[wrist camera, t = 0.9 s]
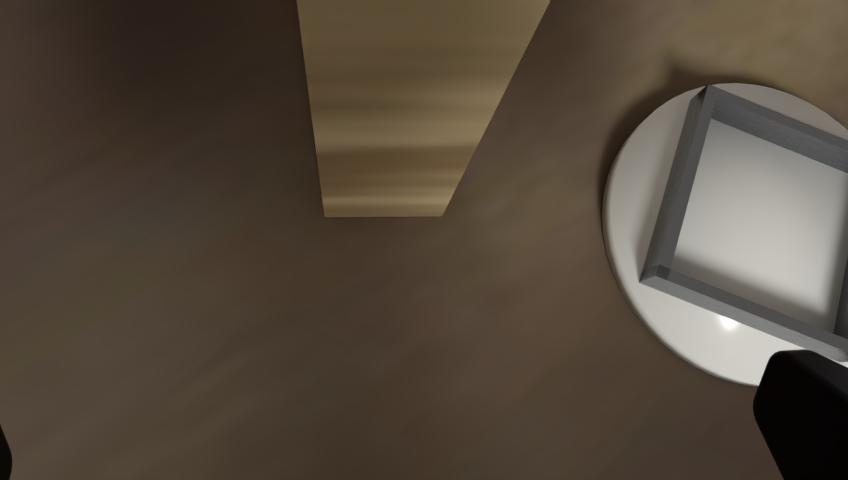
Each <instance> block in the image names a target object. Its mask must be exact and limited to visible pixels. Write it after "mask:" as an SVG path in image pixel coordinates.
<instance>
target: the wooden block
mask: <svg viewBox="0 0 848 480" xmlns="http://www.w3.org/2000/svg"><path fill="white" fill-rule="evenodd" d="M550 1H551V0H297V8H298V16H299V24H300V31H301V39H302V47H303V55H304V62H305V70H306V78H307V86H308V93H309V101H310V109H311V117H312V124H313V132H314V140H315V148H316V155H317V163H318V171H319V178H320V186H321V194H322V202H323V209H324V217H409V216H442V215H443V213H444V211H445V209H446V207H447V205H448V203H449V201H450V199H451V197H452V195H453V193H454V191H455V189H456V187H457V186H458V184H459V182H460V180H461V178H462V176H463V174H464V172H465V170H466V168H467V166H468V164H469V162H470V160H471V158H472V156H473V154H474V152H475V150H476V148H477V146H478V144H479V142H480V140H481V138H482V136H483V134H484V132H485V130H486V128H487V126H488V124H489V122H490V120H491V118H492V116H493V114H494V112H495V110H496V108H497V106H498V104H499V102H500V100H501V98H502V96H503V94H504V92H505V90H506V88H507V86H508V84H509V82H510V80H511V78H512V76H513V74H514V72H515V70H516V68H517V66H518V64H519V62H520V60H521V58H522V56H523V54H524V52H525V50H526V48H527V46H528V44H529V42H530V40H531V38H532V36H533V34H534V32H535V30H536V28H537V26H538V24H539V22H540V20H541V18H542V16H543V14H544V12H545V10H546V8H547V6H548V4H549V2H550Z"/></svg>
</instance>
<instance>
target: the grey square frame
mask: <svg viewBox="0 0 848 480" xmlns="http://www.w3.org/2000/svg"><path fill="white" fill-rule="evenodd" d="M711 119H714V120H716V121H719V122H721V123H724V124H726V125H729V126H731V127H734V128H736V129H739V130H741V131H743V132H746V133H748V134H751V135H753V136H756V137H758V138H761V139H763V140H766V141H768V142H771V143H773V144H776V145H778V146H781V147H783V148H786V149H788V150H791V151H793V152H796V153H798V154H801V155H803V156H806V157H808V158H811V159H813V160H815V161H818V162H820V163H823V164H825V165H828V166H830V167H833V168H835V169H838V170H840V171H843V172H845V173H848V140H846V139H843V138H841V137H838V136H836V135H834V134H831V133H829V132H826V131H824V130H821V129H819V128H816V127H814V126H811V125H809V124H806V123H804V122H801V121H799V120H796V119H794V118H791V117H789V116H786V115H784V114H782V113H779V112H777V111H774V110H772V109H769V108H767V107H764V106H762V105H759V104H757V103H754V102H752V101H749V100H747V99H744V98H742V97H739V96H737V95H734V94H732V93H729V92H727V91H725V90H722V89H720V88H717V87H715V86H712V85H710V84H708V85H707V86H705V87H704V88H703V89H702V90H701V91H700V92H699V93H698V94H696V95H695V96H694V97H693V98H692V99H691V100H690V103H689V106H688V110H687V114H686V117H685V121H684V124H683V128H682V131H681V135H680V138H679V142H678V145H677V149H676V153H675V156H674V160H673V163H672V167H671V170H670V174H669V177H668V181H667V184H666V188H665V192H664V195H663V199H662V202H661V206H660V209H659V213H658V216H657V220H656V223H655V227H654V231H653V234H652V238H651V241H650V245H649V248H648V252H647V255H646V259H645V262H644V266H643V269H642V273H641V277H640V280H639V283H641V284H643V285H646V286H648V287H651V288H654V289H656V290H659V291H661V292H664V293H666V294H669V295H671V296H674V297H676V298H679V299H681V300H684V301H686V302H689V303H691V304H694V305H696V306H699V307H701V308H704V309H706V310H709V311H711V312H714V313H716V314H719V315H721V316H724V317H727V318H729V319H732V320H734V321H737V322H739V323H742V324H744V325H747V326H749V327H752V328H754V329H757V330H759V331H762V332H764V333H767V334H769V335H772V336H774V337H777V338H779V339H782V340H784V341H787V342H789V343H792V344H794V345H797V346H800V347H802V348H805V349H807V350H811V351H814V352H816V353H818V354H820V355H822V356H825V357H827V358H830V359H832V360H835V361H837V362H848V257H847V262H846V268H845V273H844V278H843V284H842V289H841V295H840V300H839V305H838V311H837V316H836V321H835V327H834V332H833V333H830V332H828V331H825V330H823V329H820V328H818V327H815V326H813V325H810V324H808V323H805V322H803V321H800V320H798V319H795V318H793V317H790V316H788V315H785V314H782V313H780V312H777V311H775V310H772V309H770V308H767V307H765V306H762V305H760V304H757V303H755V302H752V301H750V300H747V299H745V298H742V297H740V296H737V295H735V294H732V293H730V292H727V291H725V290H722V289H720V288H717V287H715V286H712V285H710V284H707V283H705V282H702V281H700V280H697V279H695V278H692V277H690V276H687V275H685V274H682V273H679V272H677V271H674V270H672V269H670V268H671V265H672V261H673V257H674V253H675V250H676V246H677V242H678V239H679V235H680V231H681V227H682V224H683V220H684V216H685V213H686V209H687V205H688V201H689V198H690V194H691V190H692V187H693V183H694V179H695V175H696V172H697V168H698V164H699V161H700V157H701V153H702V149H703V146H704V142H705V138H706V135H707V131H708V127H709V123H710V120H711Z"/></svg>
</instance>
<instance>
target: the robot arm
mask: <svg viewBox="0 0 848 480" xmlns="http://www.w3.org/2000/svg"><path fill="white" fill-rule="evenodd" d="M753 412H754V416H755V420H756V422H757V424H758V427H759V429H760V431H761V433H762V435H763V437H764V439H765V441H766V443H767V445H768V448H769V450H770V452H771V454H772V456H773V458H774V460H775V462H776V464H777V466H778V468H779V471H780V473H781V475H782V477H783V479H784V480H848V367H845V366H843V365H841V364H839V363H837V362H835V361H833V360H831V359H829V358H827V357H825V356H822V355H820V354H818V353H816V352H814V351H811V350H806V349H799V350H782V351H778V352H775V353H774V354H773V355H772V356H771V357H770V358H769V360H768V362H767V365H766V368H765V370H764V373H763V376H762V378H761V381H760V384H759V386H758V389H757V392H756V394H755V397H754V400H753ZM11 470H12V455H11V451H10V448H9V445H8V443H7V440H6V438H5V435H4V433H3V430H2V428H1V425H0V480H9V479H10V475H11Z"/></svg>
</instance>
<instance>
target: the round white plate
mask: <svg viewBox="0 0 848 480" xmlns="http://www.w3.org/2000/svg"><path fill="white" fill-rule="evenodd" d="M712 86H715V87H717V88H720V89H722V90H725V91H727V92H729V93H732V94H734V95H737V96H739V97H742V98H744V99H747V100H749V101H752V102H754V103H757V104H759V105H762V106H764V107H767V108H769V109H772V110H774V111H777V112H779V113H782V114H784V115H786V116H789V117H791V118H794V119H796V120H799V121H801V122H804V123H806V124H809V125H811V126H814V127H816V128H819V129H821V130H824V131H826V132H829V133H831V134H834V135H836V136H838V137H841V138H843V139H846V140H848V131H847V130H846V129H845V128H844V127H843V126H842V125H841V124H840V123H838V122H837V121H836V120H834V119H833V118H832V117H830V116H829V115H828V114H827V113H825V112H823V111H822V110H820V109H818V108H817V107H815V106H814V105H812V104H810V103H808V102H806V101H804V100H802V99H800V98H798V97H796V96H794V95H791V94H788V93H785V92H782V91H779V90H776V89H773V88H769V87H764V86H759V85H753V84H742V83H727V84H715V85H712ZM704 87H705V86H704ZM704 87H700V88H697V89H694V90H690V91H687V92H685V93H683V94H681V95H679V96H676V97H674V98H672V99H670V100H669V101H667V102H666V103H664V104H663V105H661V106H660V107H659V108H657V109H656V110H655V111H654V112H653V113H651V114H650V115H649V116H648V117H647V118H646V119H645V120H644V121H643V122H642V123H641V124H640V125H639V126H638V127H637V128H636V129H634V130H633V132H632V133H631V134H630V136H629V137H628V138H627V139H626V141H625V142H624V143H623V145H622V146H621V148H620V150H619V152H618V153H617V155H616V157H615V159H614V161H613V163H612V166H611V169H610V171H609V174H608V177H607V181H606V185H605V189H604V194H603V205H602V230H603V237H604V243H605V249H606V253H607V257H608V260H609V263H610V267H611V270H612V273H613V275H614V277H615V280H616V282H617V284H618V286H619V289H620V291H621V293H622V294H623V296H624V298H625V299H626V301H627V303H628V304H629V306H630V308H631V309H632V311H633V312H634V313H635V315H636V316H637V317H638V319H639V320H640V321H641V323H642V324H643V325H644V327H645V328H646V329H647V330H648V331H649V332H650V333H651V334H652V335H653V336H654V337H655V338H656V339H657V340H658V341H659V342H660V343H661V344H663V345H664V346H665V347H666V348H667V349H669V350H670V351H671V352H672V353H674V354H675V355H676V356H677V357H679V358H681V359H682V360H684V361H685V362H687V363H689V364H690V365H692V366H693V367H695V368H697V369H699V370H701V371H703V372H706V373H708V374H710V375H712V376H714V377H717V378H720V379H724V380H727V381H730V382H733V383H738V384H743V385H749V386H759V384H760V381H761V378H762V376H763V373H764V370H765V368H766V365H767V362H768V360H769V358H770V357H771V356H772V355H773V354H774V353H775V352H778V351H782V350H799V349H805V348H802V347H800V346H797V345H794V344H792V343H789V342H787V341H784V340H782V339H779V338H777V337H774V336H772V335H769V334H767V333H764V332H762V331H759V330H757V329H754V328H752V327H749V326H747V325H744V324H742V323H739V322H737V321H734V320H732V319H729V318H727V317H724V316H721V315H719V314H716V313H714V312H711V311H709V310H706V309H704V308H701V307H699V306H696V305H694V304H691V303H689V302H686V301H684V300H681V299H679V298H676V297H674V296H671V295H669V294H666V293H664V292H661V291H659V290H656V289H654V288H651V287H648V286H646V285H643V284H641V283H639V280H640V277H641V273H642V269H643V266H644V262H645V259H646V255H647V252H648V248H649V245H650V241H651V238H652V234H653V231H654V227H655V223H656V220H657V216H658V213H659V209H660V206H661V202H662V199H663V195H664V192H665V188H666V184H667V181H668V177H669V174H670V170H671V167H672V163H673V160H674V156H675V153H676V149H677V145H678V142H679V138H680V135H681V131H682V128H683V124H684V121H685V117H686V114H687V110H688V106H689V103H690V100H691V99H692V98H693V97H694V96H695V95H696V94H698V93H699V92H700V91H701V90H702V89H703V88H704ZM847 257H848V173H845V172H843V171H840V170H838V169H835V168H833V167H830V166H828V165H825V164H823V163H820V162H818V161H815V160H813V159H811V158H808V157H806V156H803V155H801V154H798V153H796V152H793V151H791V150H788V149H786V148H783V147H781V146H778V145H776V144H773V143H771V142H768V141H766V140H763V139H761V138H758V137H756V136H753V135H751V134H748V133H746V132H743V131H741V130H739V129H736V128H734V127H731V126H729V125H726V124H724V123H721V122H719V121H716V120H714V119H711V120H710V123H709V127H708V131H707V135H706V138H705V142H704V146H703V149H702V153H701V157H700V161H699V164H698V168H697V172H696V175H695V179H694V183H693V187H692V190H691V194H690V198H689V201H688V205H687V209H686V213H685V216H684V220H683V224H682V227H681V231H680V235H679V239H678V242H677V246H676V250H675V253H674V257H673V261H672V265H671V268H670V269H672V270H674V271H677V272H679V273H682V274H685V275H687V276H690V277H692V278H695V279H697V280H700V281H702V282H705V283H707V284H710V285H712V286H715V287H717V288H720V289H722V290H725V291H727V292H730V293H732V294H735V295H737V296H740V297H742V298H745V299H747V300H750V301H752V302H755V303H757V304H760V305H762V306H765V307H767V308H770V309H772V310H775V311H777V312H780V313H782V314H785V315H788V316H790V317H793V318H795V319H798V320H800V321H803V322H805V323H808V324H810V325H813V326H815V327H818V328H820V329H823V330H825V331H828V332H830V333H833V332H834V327H835V321H836V316H837V311H838V305H839V300H840V295H841V289H842V284H843V278H844V273H845V268H846V262H847ZM806 350H807V349H806ZM829 359H830V358H829ZM831 360H832V359H831ZM833 361H835V360H833ZM835 362H837V361H835ZM837 363H839V364H841V365H843V366H845V367H848V362H837Z"/></svg>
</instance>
